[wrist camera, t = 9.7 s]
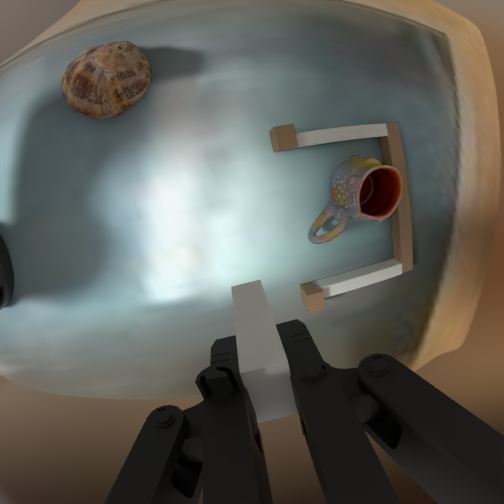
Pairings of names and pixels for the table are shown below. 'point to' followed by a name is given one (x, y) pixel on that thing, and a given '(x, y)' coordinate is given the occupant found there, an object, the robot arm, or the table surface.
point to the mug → (359, 195)
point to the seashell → (106, 80)
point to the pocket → (400, 217)
